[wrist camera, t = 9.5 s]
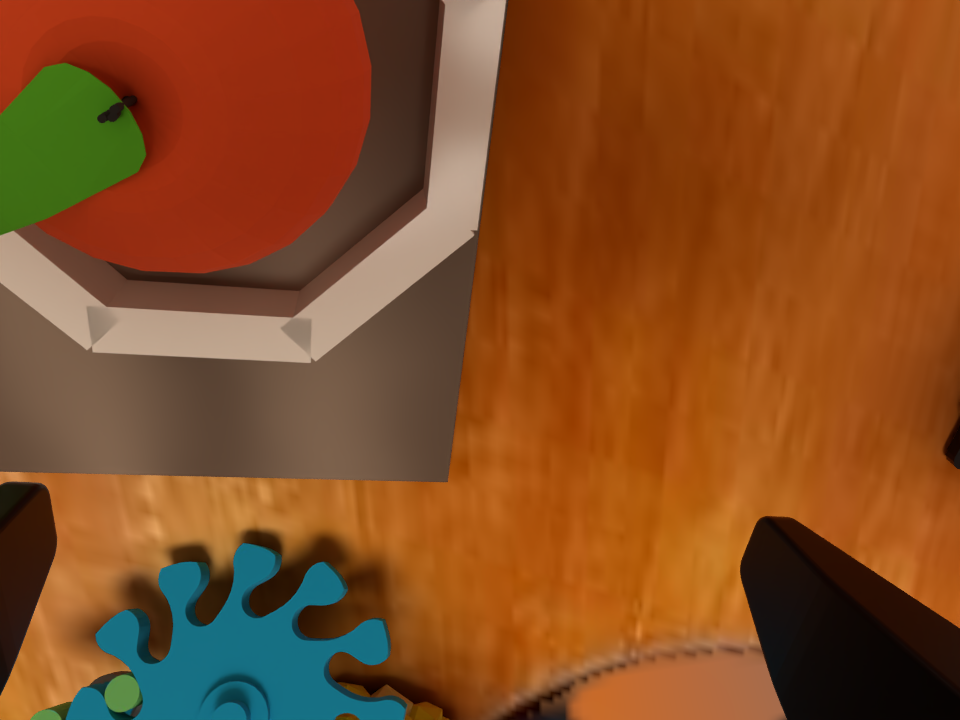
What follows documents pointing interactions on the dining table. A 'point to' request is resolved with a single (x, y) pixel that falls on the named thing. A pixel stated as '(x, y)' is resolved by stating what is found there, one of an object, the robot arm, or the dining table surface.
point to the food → (418, 716)
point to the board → (273, 384)
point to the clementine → (178, 124)
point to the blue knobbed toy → (233, 655)
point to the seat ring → (332, 294)
